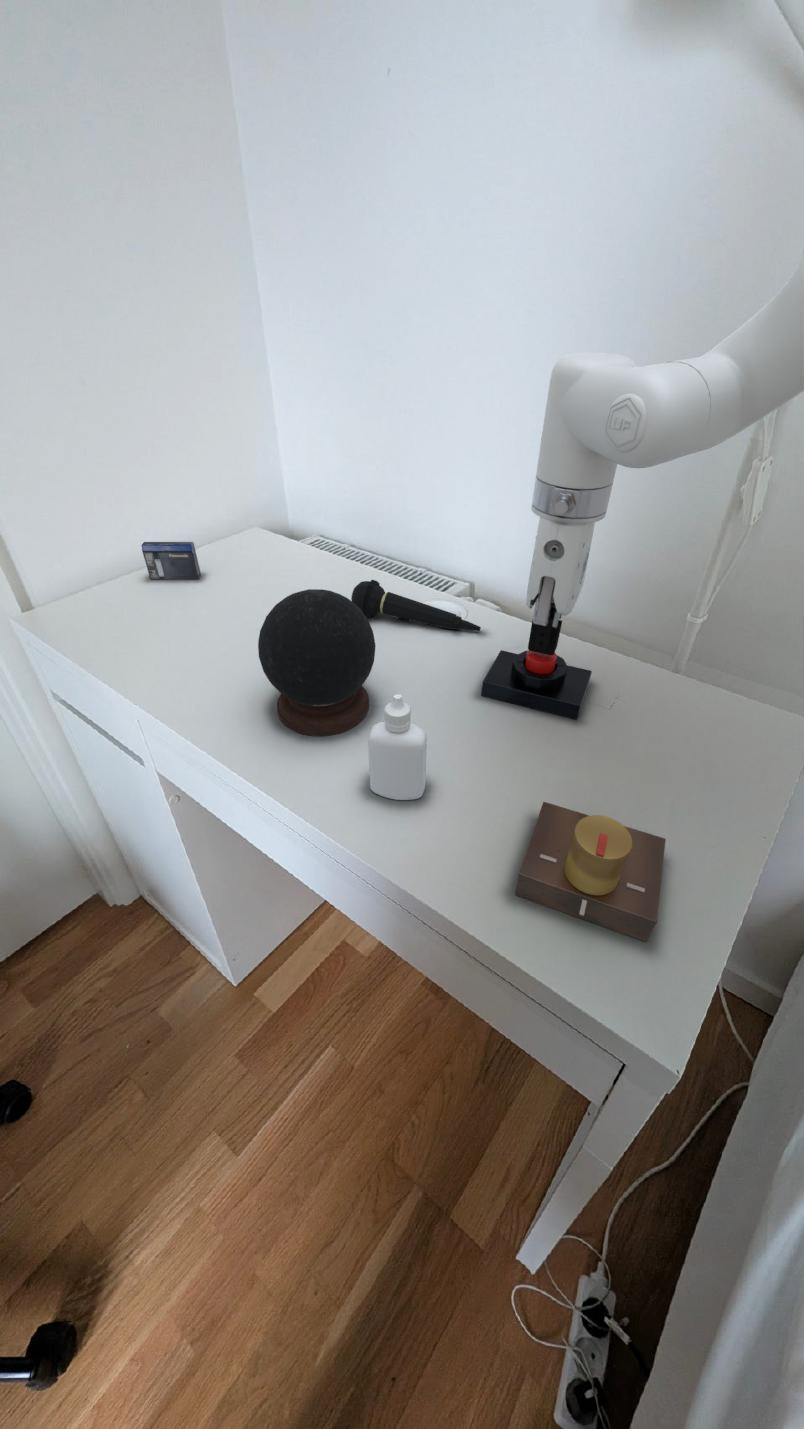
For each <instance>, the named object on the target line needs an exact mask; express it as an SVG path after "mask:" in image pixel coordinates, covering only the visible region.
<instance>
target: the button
mask: <svg viewBox="0 0 804 1429" xmlns="http://www.w3.org/2000/svg"><path fill="white" fill-rule="evenodd" d="M527 651H528V652H527V656H526V662H525V666H526V668H527V669H528V670H530V671H531V672H534V673H539V674H550V673H552V672H553V671H554V669H555V664H556V659H557V655H558V654H557V653H556V652H555V653H554V655H547V654H542V653H538V652H533V651H530V650H528V649H527Z"/></svg>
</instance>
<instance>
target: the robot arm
mask: <svg viewBox="0 0 804 1429" xmlns="http://www.w3.org/2000/svg"><path fill="white" fill-rule="evenodd" d="M636 365H637V364H636V363H635V362H634V360H633V359H632V358H630V357H628V356H626V355H624V354H623V355H622V354H619V353H613V352H603V351H602V352H601V351H579V352H571V353H568V354H565V355H562V356H561V357H560V358H559V359H557V361H556V362H555V363H554V365H553V367H552V370H551V374H550V379H549V383H548V384H549V385H548V392H547V399H546V404H545V405H546V406H545V411H544V418H543V425H542V432H541V438H540V445H539V452H538V459H537V466H536V472H535V478H534V479H535V480H534V485H533V493H532V498H531V500H532V501H531V506H530V509H531V512H532V513H533V514H534V515H535V516H538V517H539V520H538V526H537V530H536V536H535V540H534V548H533V552H532V558H531V564H530V569H529V576H528V583H527V590H526V599H525V604H526V606H527V607H528V608H529V609H530V610H531V609H532V608H534V611H533V619H532V620H531V626H530V627H531V628H530V632H529V638H528V643H527V644H528V645H527V651H528V650H530V651H533V652H538V653H542V654H547V655H554V653H556V650H557V648H558V644H559V640H560V636H561V635H560V634H561V630H562V624H563V620H561V619H562V617H563V616H564V617H567V616H568V615H570V614H571V613H572V612H573V609H574V608H575V606H576V603H577V601H578V598H579V596H580V594H581V591H582V588H583V586H584V582H585V579H586V578H585V577H586V572H587V568H588V567H587V566H588V562H589V556H590V552H591V545H592V541H593V535H594V531H595V524H596V523H597V522H600V521H602V520H603V519H605V518H606V516H607V510H608V506H609V503H610V499H611V493H612V490H613V486H614V480H615V476H616V472H617V467H618V465H619V466H622V467H625V468H629V469H647V468H651V467H652V468H653V467H655V466H658V465H662V464H664V463H665V464H666V463H669V462H671V461H674V460H676V459H679V458H682V457H683V458H684V457H686V456H689V455H692V454H695V453H700V452H702V451H706V450H708V449H711V448H713V447H716V446H718V445H720V444H722V443H724V442H725V441H727V440H729V439H731V438H732V437H734V436H737V434H739V433H741V432H743V431H744V430H745V429H747V428H749V427H750V426H752V425H754V424H755V423H757V422H759V421H760V420H761V419H763V418H764V417H766V416H768V415H770V414H771V413H772V412H774V411H775V410H777V409H779V408H780V407H782V406H783V405H785V404H787V403H788V402H790V401H792V400H793V399H794V398H795V397H798V396H799V395H800V394H802V393H803V392H804V243H803V245H802V248H801V254H800V258H799V260H798V262H797V265H796V267H795V269H794V270H793V272H792V274H791V275H790V276H789V278H788V279H787V281H786V282H785V283H784V284H783V286H782V287H781V288H780V289H779V291H777V293H775V295H774V296H773V297H772V298H771V299H770V300H769V301H768V302H767V303H766V304H765V305H763V307H761V309H759V310H758V311H756V313H754V315H752V316H751V317H750V318H749V319H747V320H746V321H745V322H744V323H743V324H742V325H740V326H738V327H737V329H735V331H733V332H732V333H731V334H729V335H728V336H727V337H725V338H724V339H723V340H721V341H720V342H719V343H717V344H716V345H715V346H714V347H712V348H711V349H710V350H708V351H707V352H705V353H704V354H702V355H701V356H697V357H691V358H684V359H678V360H677V359H676V360H672V361H667V362H664V363H657V364H650V365H639V366H636Z"/></svg>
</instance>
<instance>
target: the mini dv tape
mask: <svg viewBox="0 0 804 1429" xmlns="http://www.w3.org/2000/svg"><path fill="white" fill-rule="evenodd" d="M140 547H141V551H142V555H143V559H144V562H145V565H146V568H147V572H148V575H149V576H148V577H149V579H150V580H200V578H201V576H202V572H201V568H200V564H199V560H198V556H197V550H196V546H195V542H193V541H143V542H142V544H141V546H140Z"/></svg>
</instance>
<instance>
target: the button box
mask: <svg viewBox="0 0 804 1429" xmlns="http://www.w3.org/2000/svg"><path fill="white" fill-rule="evenodd" d="M527 652H528V650H524V651H522V652H520V653H516V652H510V651H506V650H502V649H501V650H500V651H499V653H498V654H497V655H496V657H495V660H494V661H493V663H492V664H491V667H490V668H489V670H488V672H487V674H486V675H485V677H484V679H483V680H482V685H481V692H480V693H481V697H485V698H490V699H493V700H497V701H501V702H505V703H509V704H513V705H517V706H520V707H525V708H528V709H533V710H536V711H540V712H544V713H547V714H552V715H556V716H558V717H559V716H560V717H564V718H568V719H571V720H576V721H577V720H578V718H579V716H580V713H581V709H582V706H583V703H584V699H585V697H586V694H587V690H588V688H589V684H590V680H591V676H592V672H593V671H592V670H590V669H585V668H581V667H577V666H572V665H569V664H567V663H566V661H565V659H564V658H563V657H561V656H560V655H558V654H556V655H557V659H556V664H555V669H554V671H553V672H552V673H550V674H539V673H534V672H531V671H530V670H528V669H527V668H526V666H525V662H526V656H527Z"/></svg>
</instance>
